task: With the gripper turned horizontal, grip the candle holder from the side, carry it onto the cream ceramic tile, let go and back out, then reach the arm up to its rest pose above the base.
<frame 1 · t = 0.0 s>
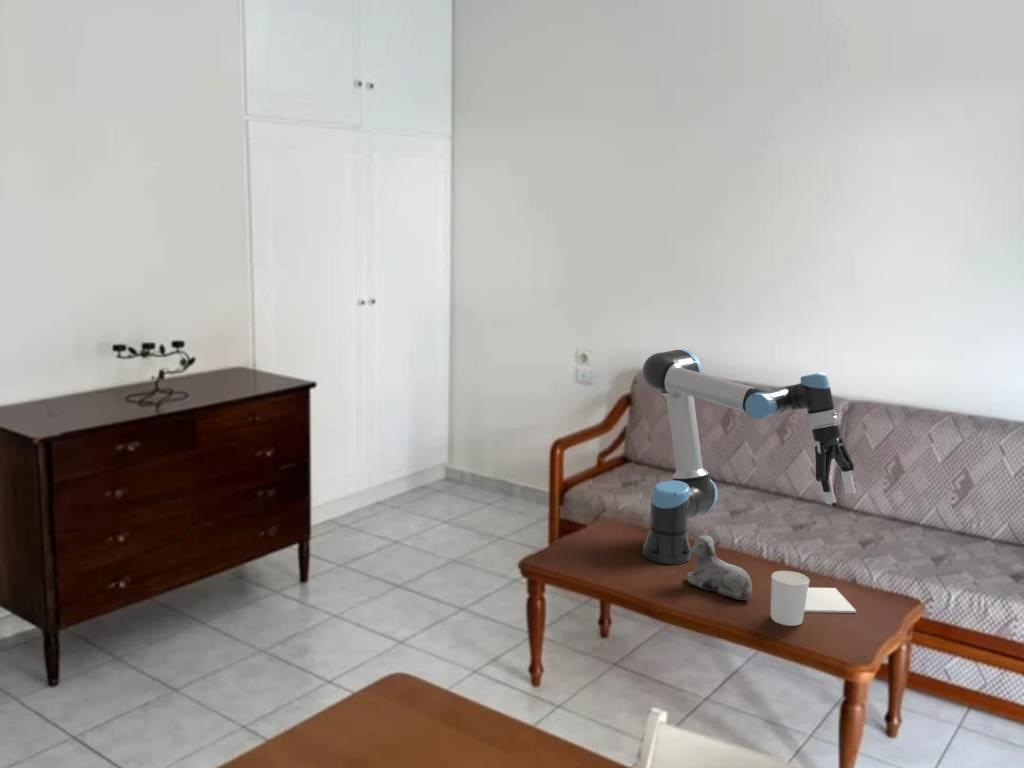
hand: (841, 498, 270), 28 cm above the table, tool tilted 20°, fingers open, 13 cm apart
tile: (817, 600, 266), on the table
candle holder: (786, 620, 253), on the table
sculpture: (718, 591, 272), on the table
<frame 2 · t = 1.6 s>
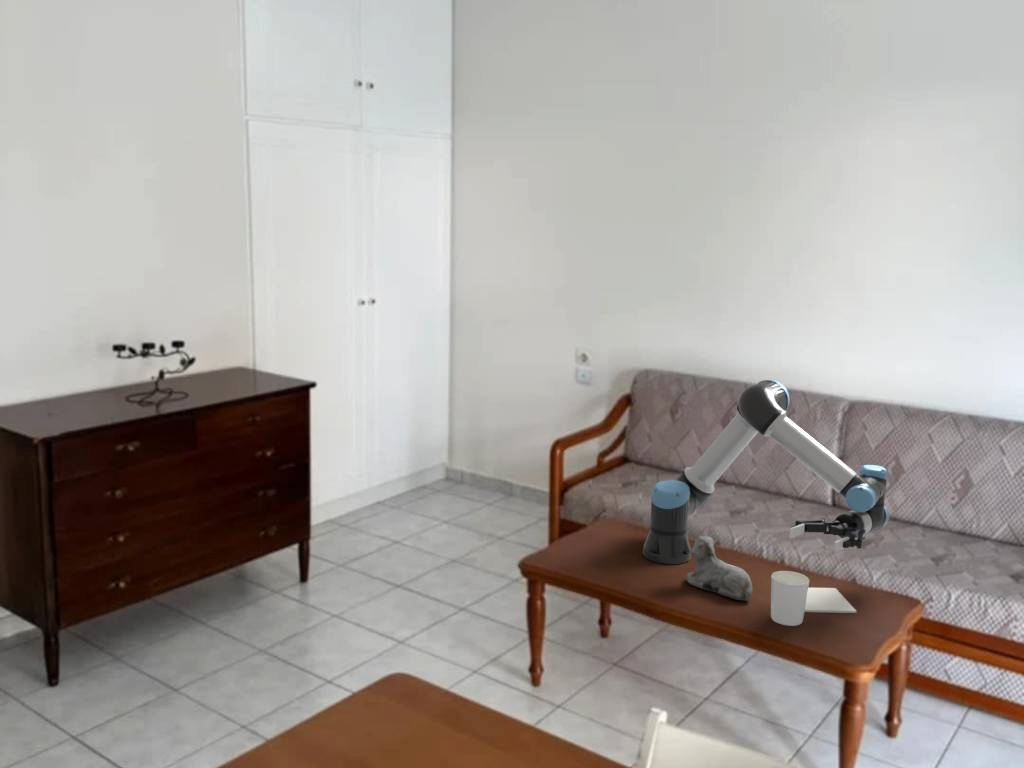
hand: (812, 540, 256), 20 cm above the table, tool horizontal, fingers open, 13 cm apart
nothing on the table moved.
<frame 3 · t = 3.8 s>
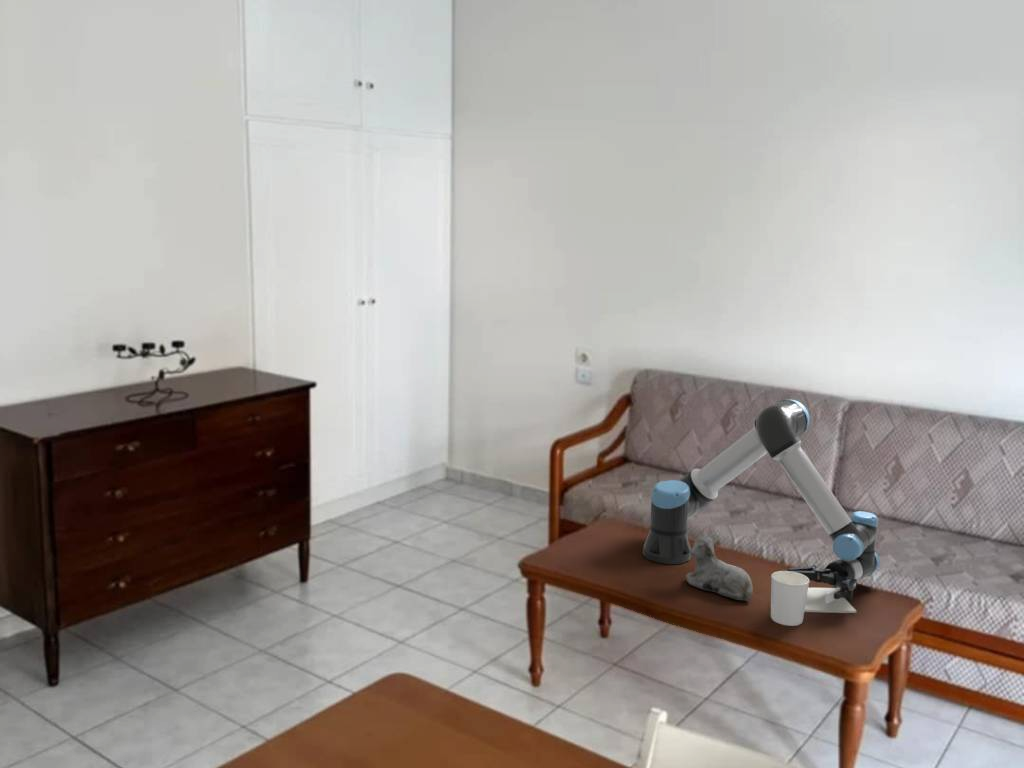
hand: (803, 590, 256), 7 cm above the table, tool horizontal, fingers open, 13 cm apart
nothing on the table moved.
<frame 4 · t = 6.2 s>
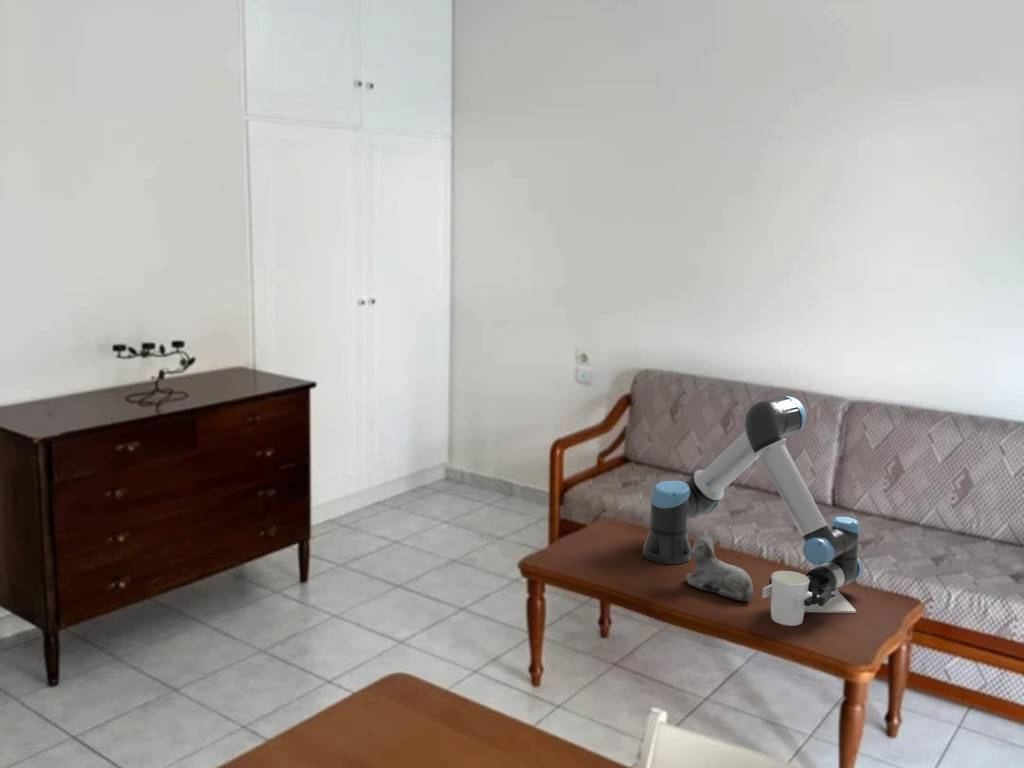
hand: (779, 599, 249), 7 cm above the table, tool horizontal, fingers closed on candle holder, 9 cm apart
candle holder: (786, 620, 253), on the table, touching gripper
everything else where it was.
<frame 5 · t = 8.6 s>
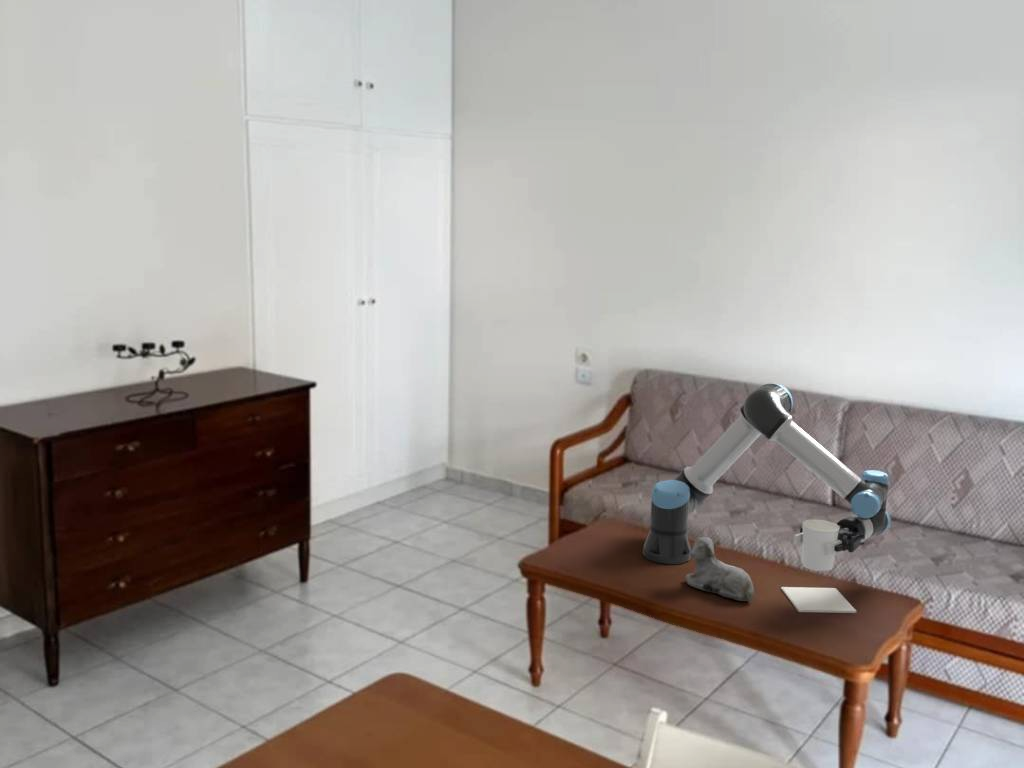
hand: (810, 545, 258), 18 cm above the table, tool horizontal, fingers closed on candle holder, 9 cm apart
candle holder: (817, 566, 262), point 11 cm above the table, touching gripper
when the fingers open (9 cm above the table, at t = 11.0 s): candle holder drops 1 cm, resting on tile.
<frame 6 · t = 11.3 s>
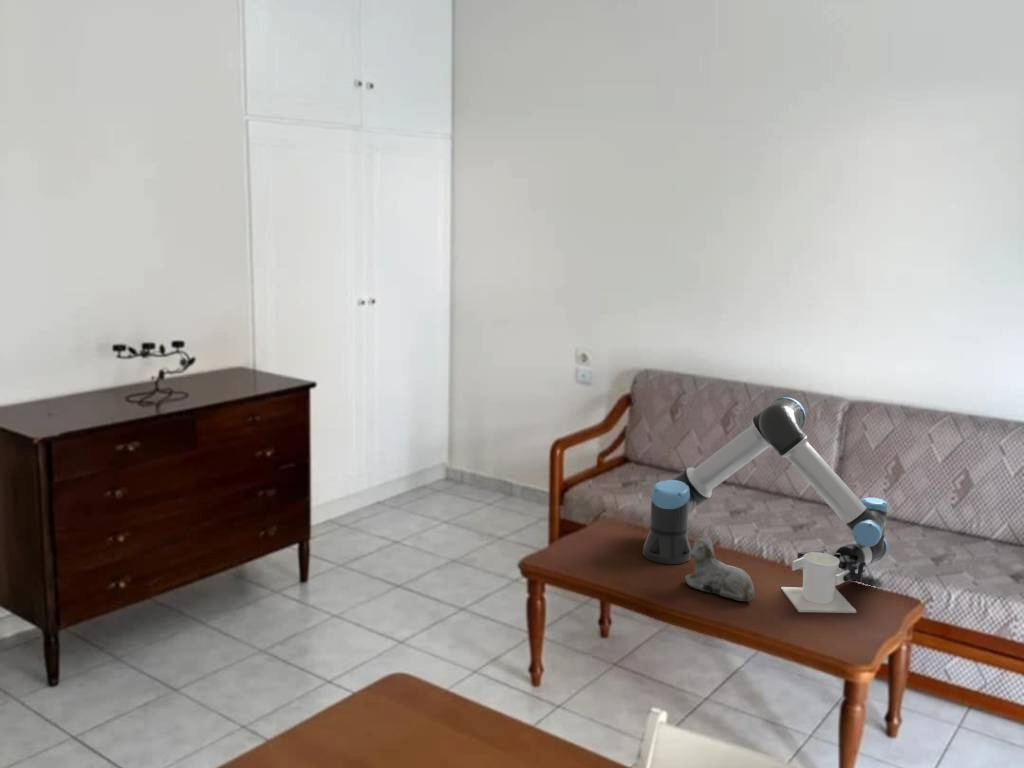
hand: (814, 573, 263), 9 cm above the table, tool horizontal, fingers open, 13 cm apart
candle holder: (817, 599, 266), resting on tile
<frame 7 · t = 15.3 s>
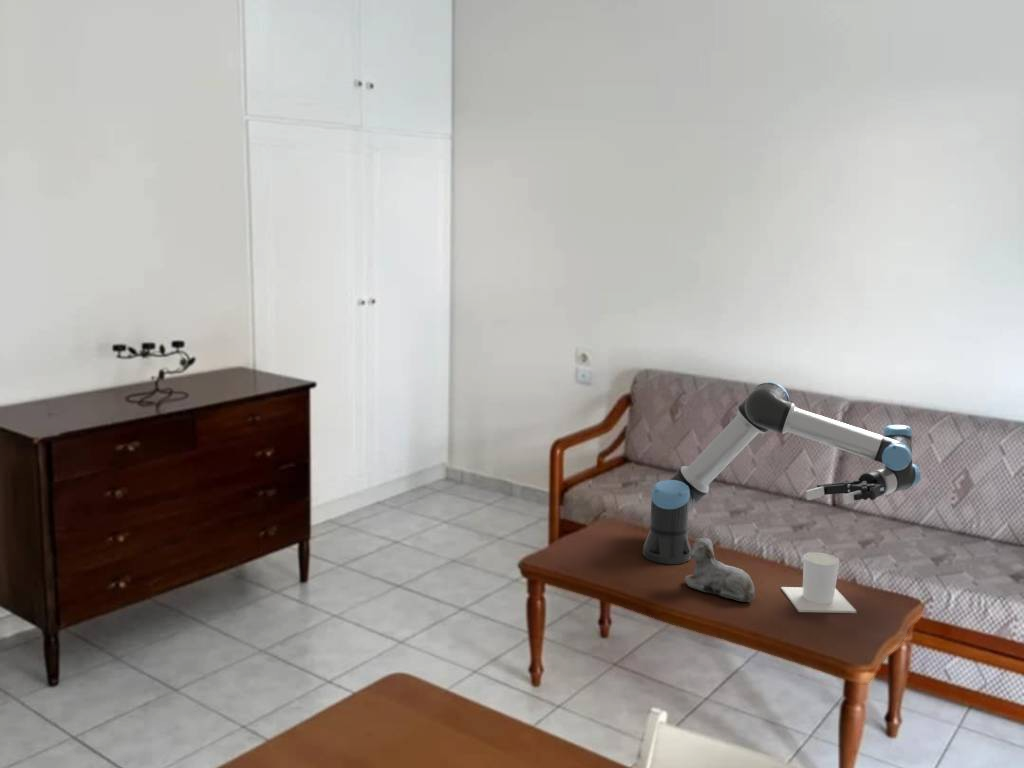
hand: (825, 497, 265), 29 cm above the table, tool horizontal, fingers open, 13 cm apart
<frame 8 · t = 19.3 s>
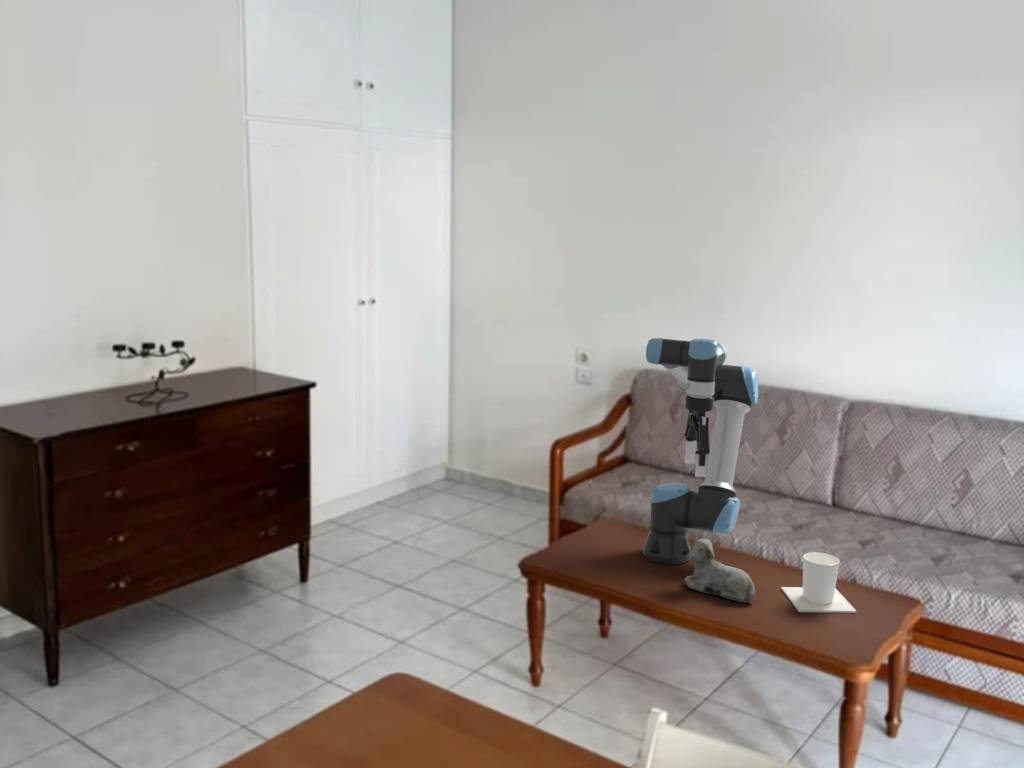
hand: (694, 470, 262), 37 cm above the table, tool pointing down, fingers open, 13 cm apart
at the end: candle holder inside the target area on the tile (0.1 cm from its centre), point 0.4 cm above the tile's base; candle holder tilted 0°; the gripper is holding nothing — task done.
